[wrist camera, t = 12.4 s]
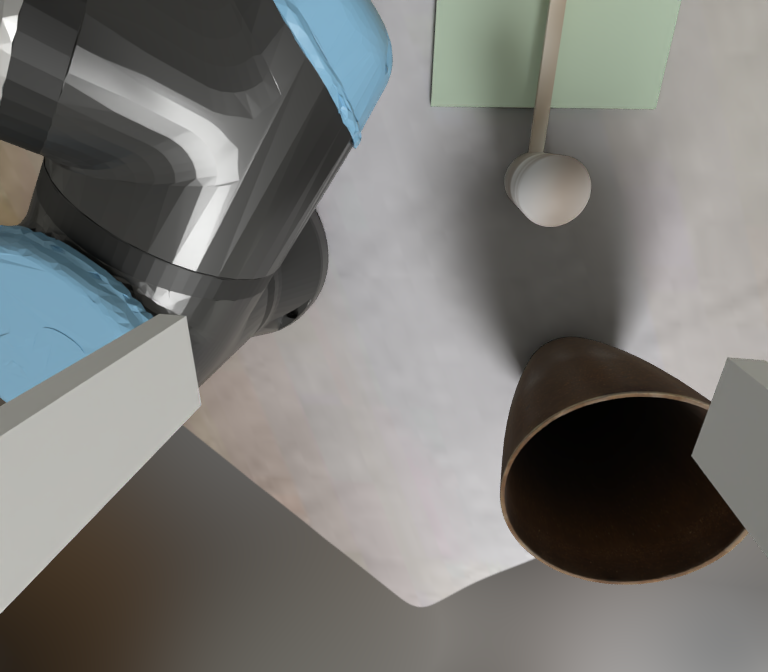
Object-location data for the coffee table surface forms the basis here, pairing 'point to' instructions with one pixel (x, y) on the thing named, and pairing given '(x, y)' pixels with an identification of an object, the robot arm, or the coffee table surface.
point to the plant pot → (610, 468)
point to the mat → (575, 58)
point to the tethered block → (545, 170)
